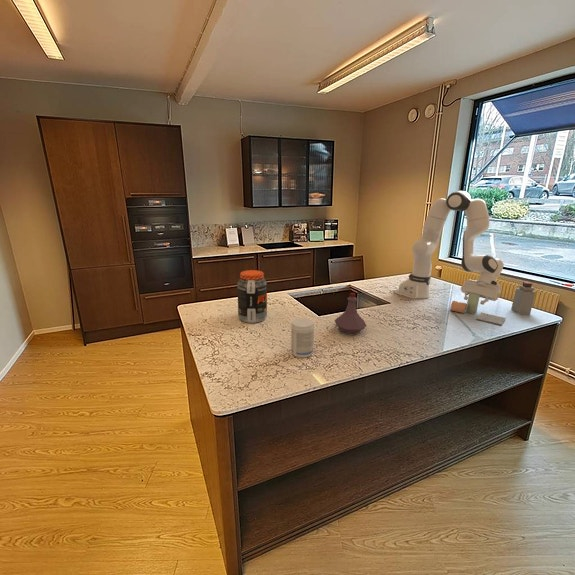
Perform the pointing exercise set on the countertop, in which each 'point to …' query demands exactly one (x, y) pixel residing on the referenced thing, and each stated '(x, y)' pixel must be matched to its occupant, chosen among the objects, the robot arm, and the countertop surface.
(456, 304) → the tan rounded cylinder
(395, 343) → the countertop surface
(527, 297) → the perfume bottle
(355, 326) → the flask
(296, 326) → the supplement tub
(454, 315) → the countertop surface
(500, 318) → the plate
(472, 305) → the pale green rounded cylinder
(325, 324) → the countertop surface
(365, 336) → the countertop surface
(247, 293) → the supplement tub
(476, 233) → the robot arm
